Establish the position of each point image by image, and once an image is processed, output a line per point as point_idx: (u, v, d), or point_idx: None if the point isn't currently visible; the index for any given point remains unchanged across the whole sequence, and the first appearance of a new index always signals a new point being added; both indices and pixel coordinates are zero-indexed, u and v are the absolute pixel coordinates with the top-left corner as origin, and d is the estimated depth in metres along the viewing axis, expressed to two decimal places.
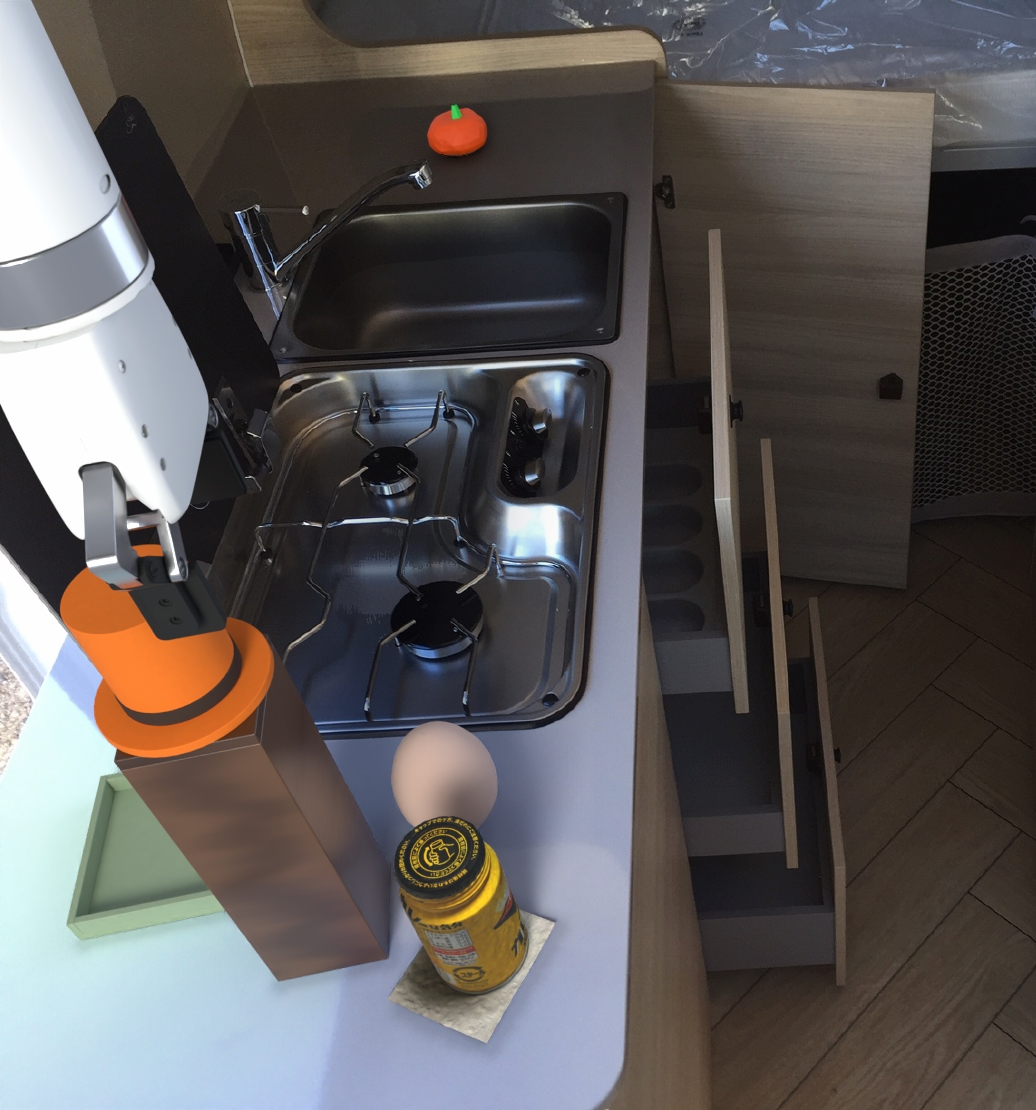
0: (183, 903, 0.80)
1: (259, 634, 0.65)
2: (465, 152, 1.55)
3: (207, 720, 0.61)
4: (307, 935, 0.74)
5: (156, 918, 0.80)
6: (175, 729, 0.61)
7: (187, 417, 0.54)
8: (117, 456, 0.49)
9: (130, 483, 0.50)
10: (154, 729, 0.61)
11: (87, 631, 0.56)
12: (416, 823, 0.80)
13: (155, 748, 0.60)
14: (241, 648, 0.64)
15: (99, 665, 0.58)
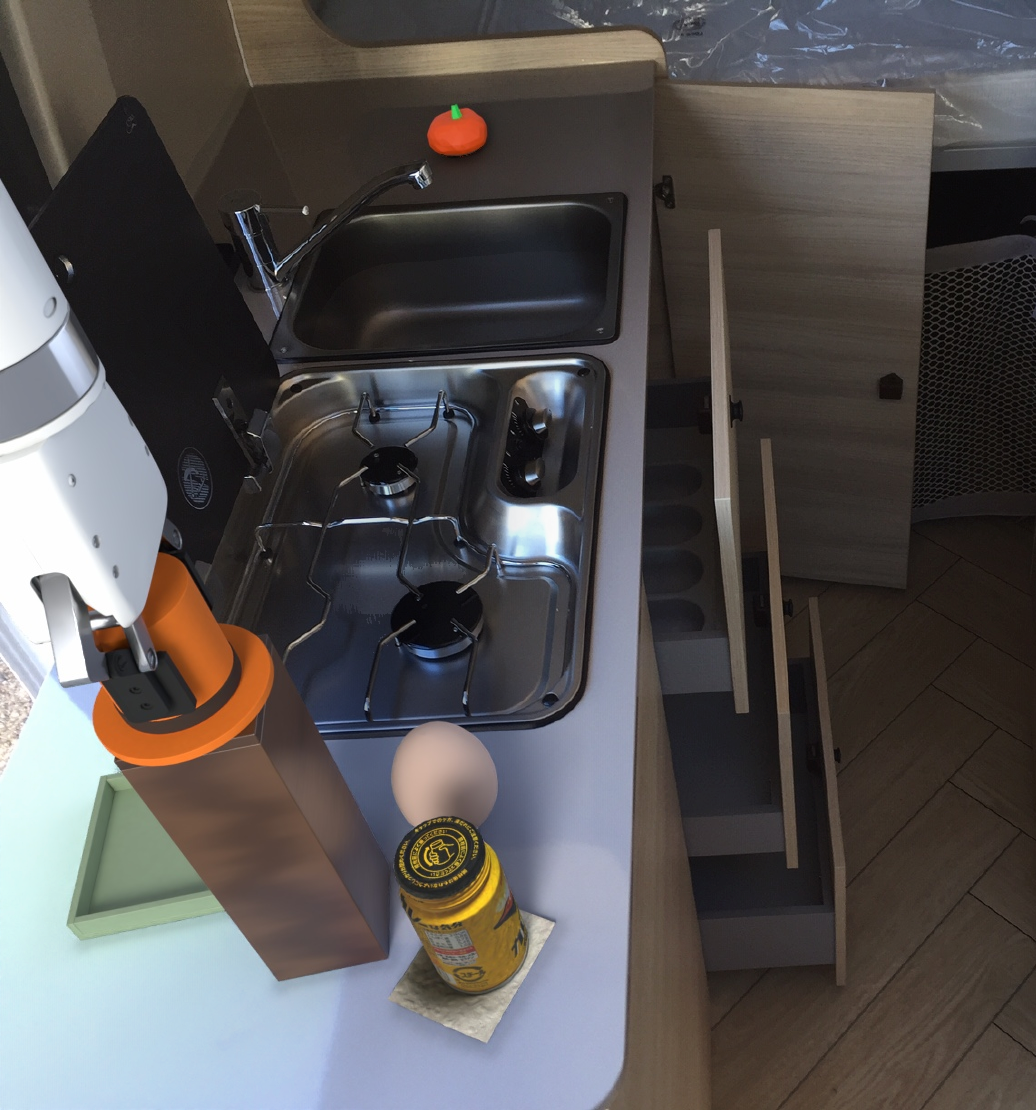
0: (183, 903, 0.80)
1: (259, 641, 0.64)
2: (465, 152, 1.55)
3: (206, 728, 0.60)
4: (307, 935, 0.74)
5: (156, 918, 0.80)
6: (173, 737, 0.60)
7: (143, 518, 0.55)
8: (69, 567, 0.50)
9: (82, 592, 0.51)
10: (153, 737, 0.60)
11: None
12: (416, 823, 0.80)
13: (154, 757, 0.59)
14: (241, 656, 0.64)
15: None
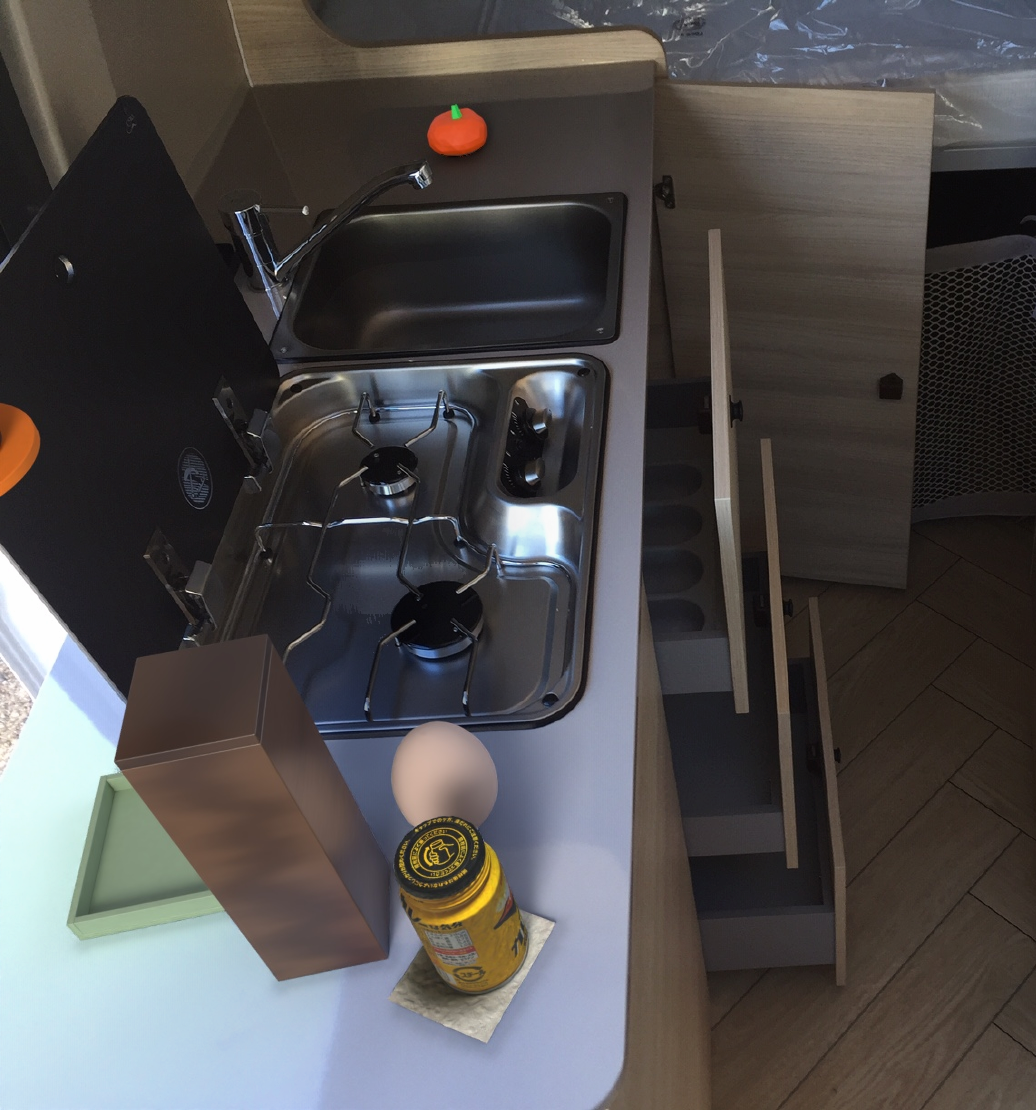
0: (183, 903, 0.80)
1: (27, 418, 0.59)
2: (465, 152, 1.55)
3: None
4: (307, 935, 0.74)
5: (156, 918, 0.80)
6: None
7: None
8: None
9: None
10: None
11: None
12: (416, 823, 0.80)
13: None
14: (4, 431, 0.58)
15: None
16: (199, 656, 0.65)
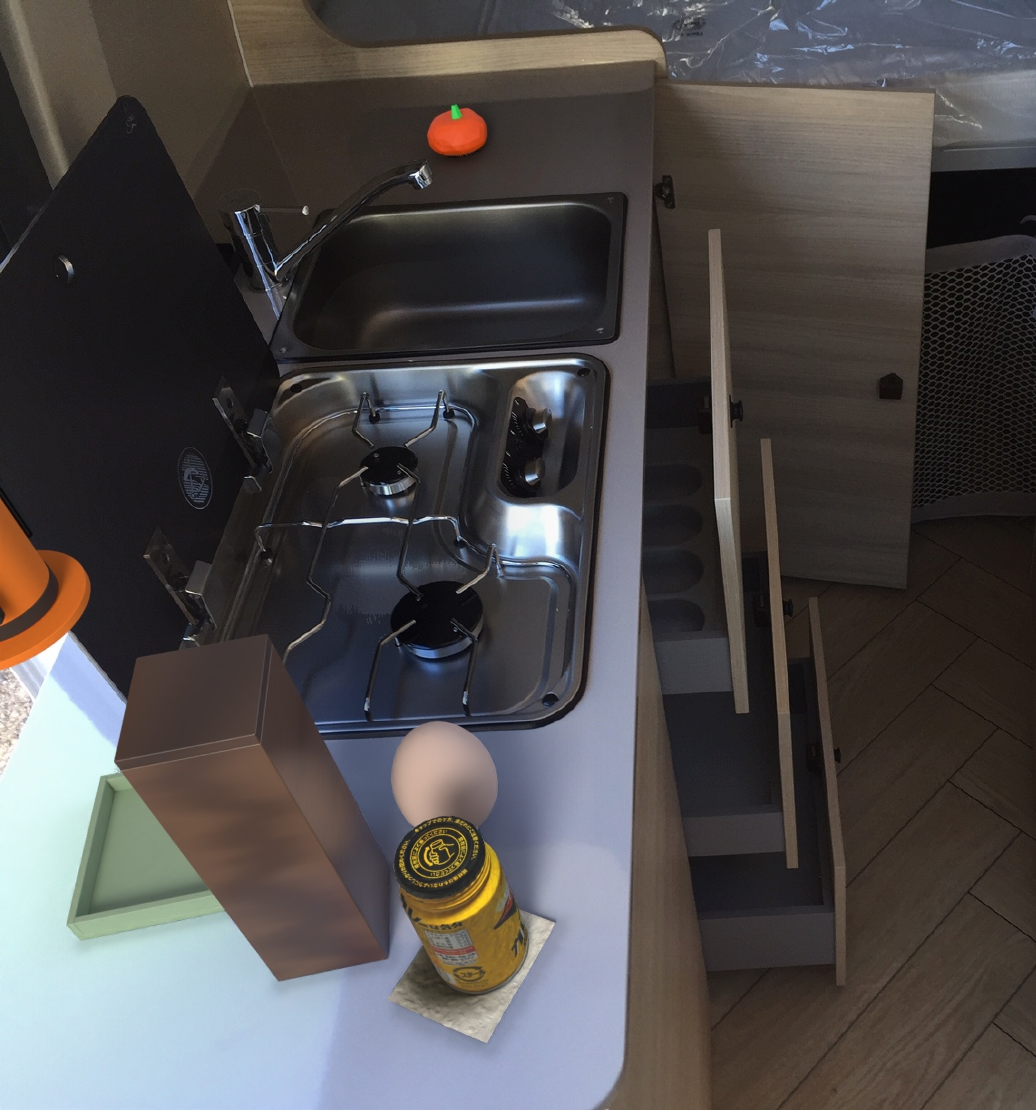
0: (183, 903, 0.80)
1: (78, 566, 0.69)
2: (465, 152, 1.55)
3: (19, 642, 0.65)
4: (307, 935, 0.74)
5: (156, 918, 0.80)
6: None
7: None
8: None
9: None
10: None
11: None
12: (416, 823, 0.80)
13: None
14: (60, 578, 0.69)
15: None
16: (199, 656, 0.65)
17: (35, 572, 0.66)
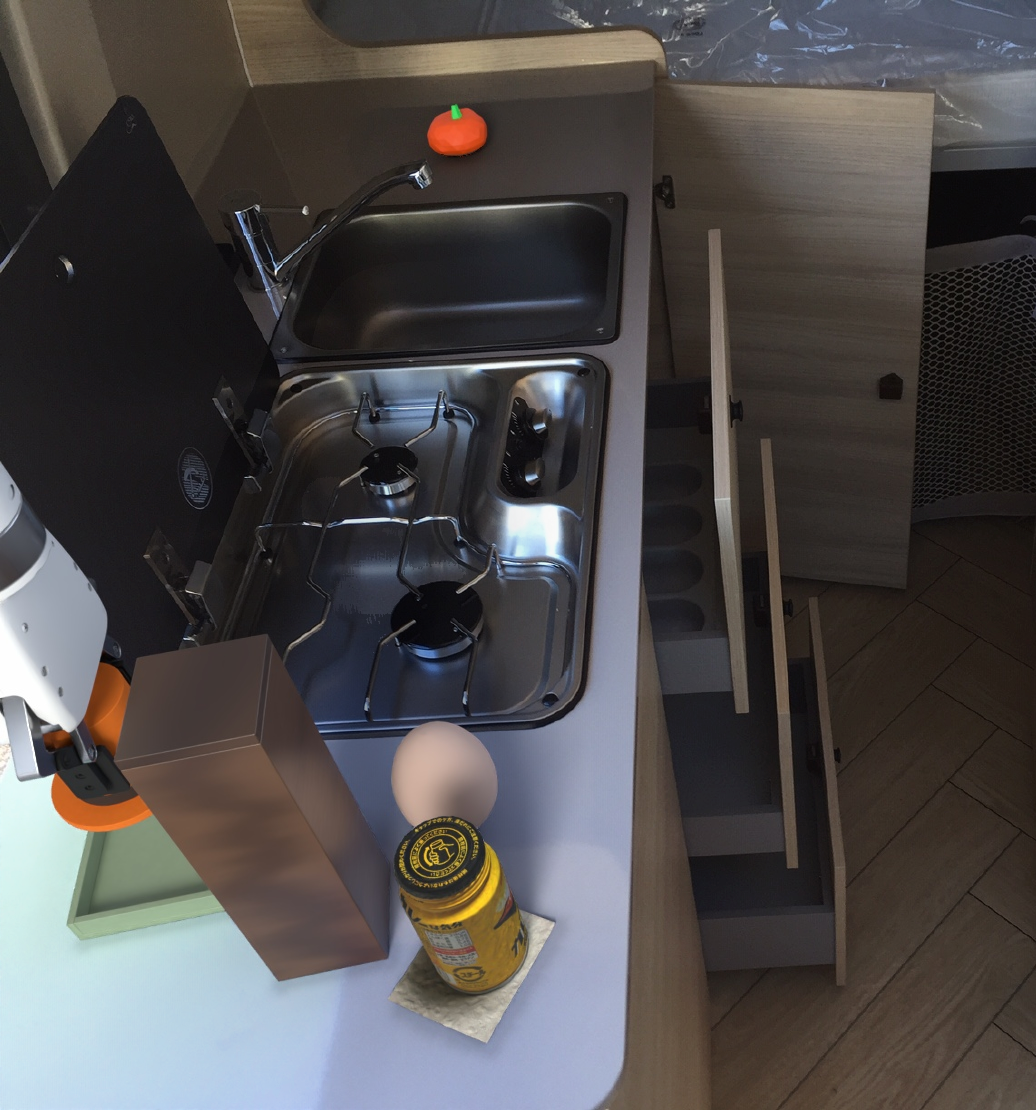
0: (183, 903, 0.80)
1: None
2: (465, 152, 1.55)
3: (141, 801, 0.76)
4: (307, 935, 0.74)
5: (156, 918, 0.80)
6: (114, 808, 0.76)
7: (84, 644, 0.70)
8: (23, 691, 0.65)
9: (35, 708, 0.66)
10: (98, 808, 0.76)
11: None
12: (416, 823, 0.80)
13: (98, 825, 0.75)
14: None
15: None
16: (199, 656, 0.65)
17: None
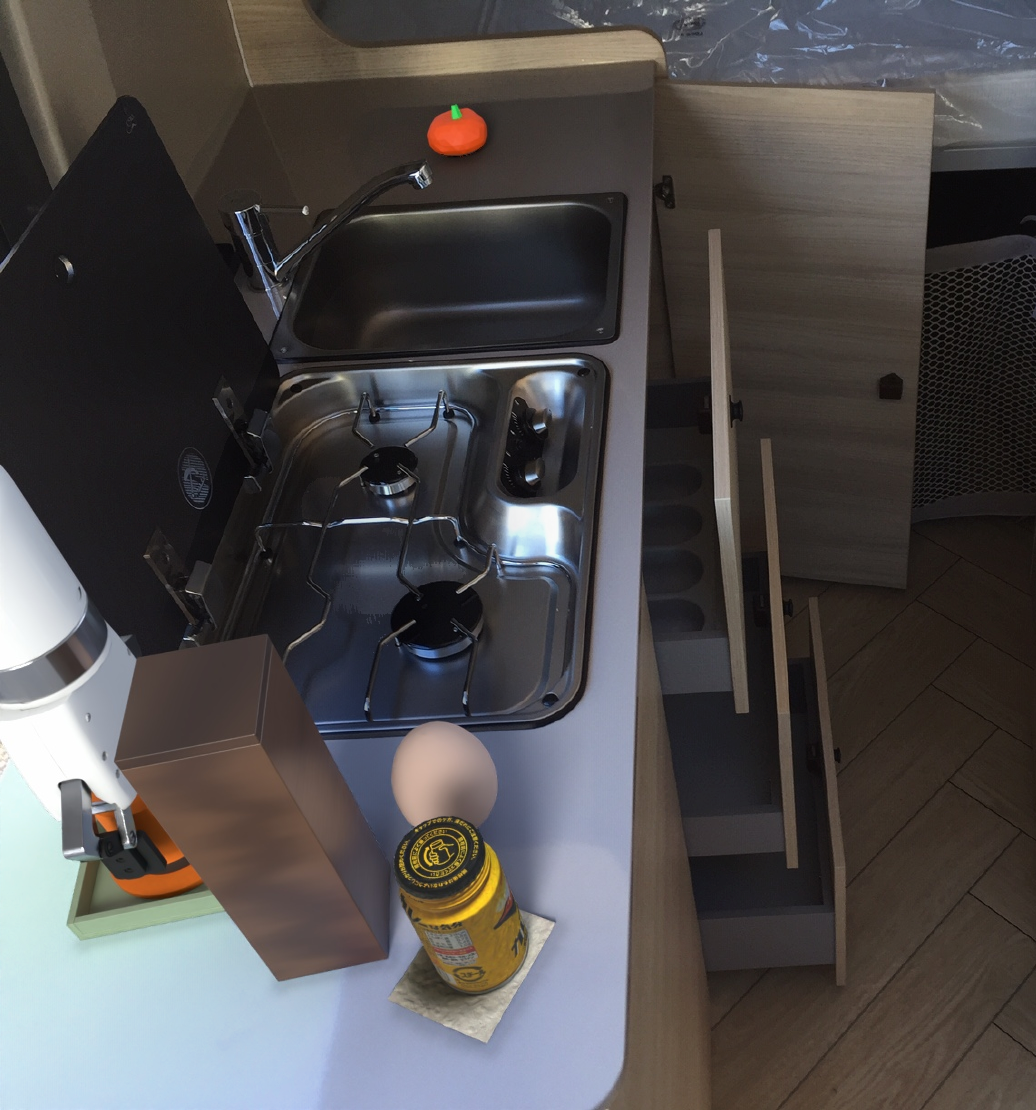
0: (183, 903, 0.80)
1: None
2: (465, 152, 1.55)
3: (192, 870, 0.82)
4: (307, 935, 0.74)
5: (156, 918, 0.80)
6: (168, 877, 0.82)
7: None
8: (85, 775, 0.71)
9: (94, 790, 0.72)
10: (152, 877, 0.82)
11: (104, 814, 0.77)
12: (416, 823, 0.80)
13: (153, 893, 0.81)
14: None
15: None
16: (199, 656, 0.65)
17: None
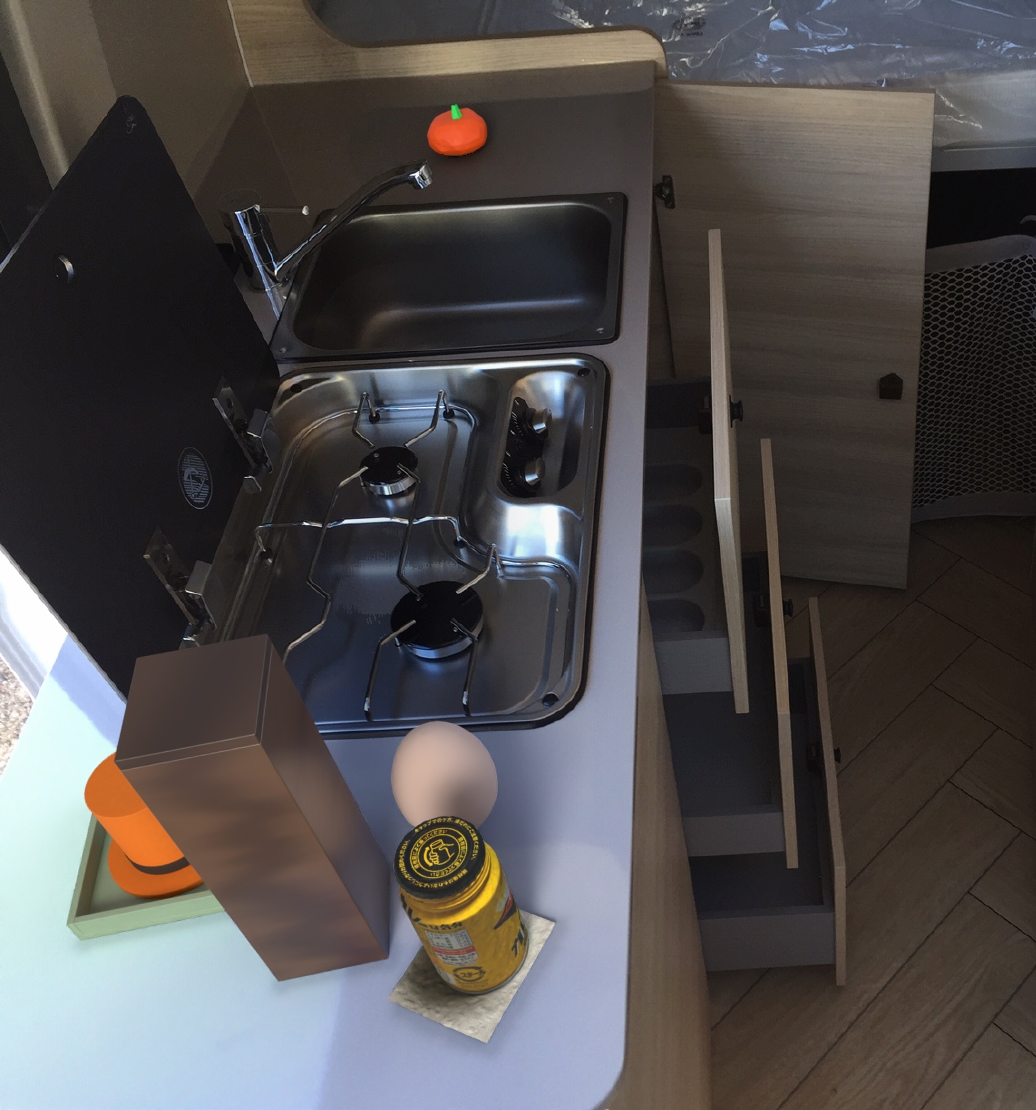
0: (183, 903, 0.80)
1: None
2: (465, 152, 1.55)
3: (192, 870, 0.82)
4: (307, 935, 0.74)
5: (156, 918, 0.80)
6: (168, 877, 0.82)
7: None
8: None
9: None
10: (152, 877, 0.82)
11: (104, 814, 0.77)
12: (416, 823, 0.80)
13: (153, 893, 0.81)
14: None
15: (112, 835, 0.79)
16: (199, 656, 0.65)
17: None
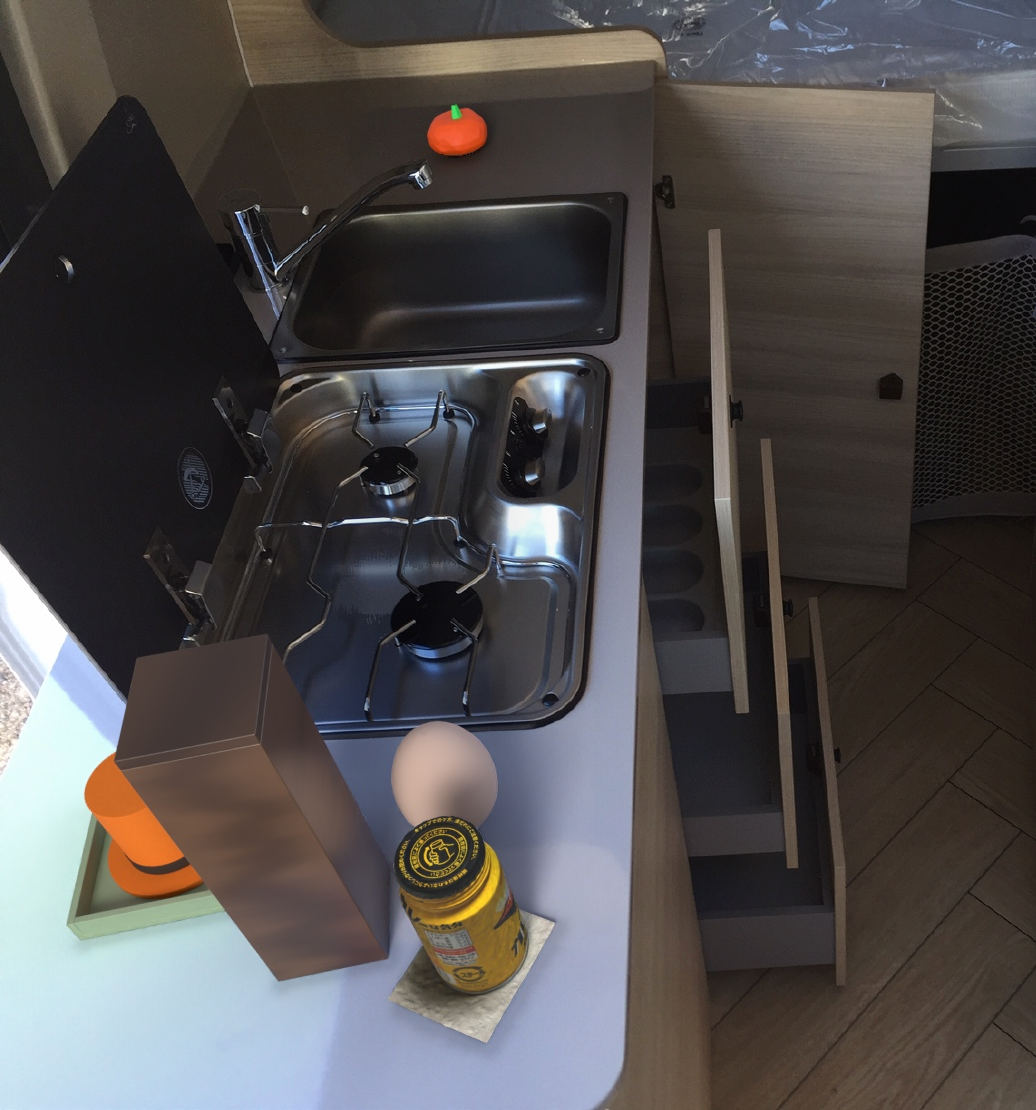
0: (183, 903, 0.80)
1: None
2: (465, 152, 1.55)
3: (192, 870, 0.82)
4: (307, 935, 0.74)
5: (156, 918, 0.80)
6: (168, 877, 0.82)
7: None
8: None
9: None
10: (152, 877, 0.82)
11: (104, 814, 0.77)
12: (416, 823, 0.80)
13: (153, 893, 0.81)
14: None
15: (112, 835, 0.79)
16: (199, 656, 0.65)
17: None
